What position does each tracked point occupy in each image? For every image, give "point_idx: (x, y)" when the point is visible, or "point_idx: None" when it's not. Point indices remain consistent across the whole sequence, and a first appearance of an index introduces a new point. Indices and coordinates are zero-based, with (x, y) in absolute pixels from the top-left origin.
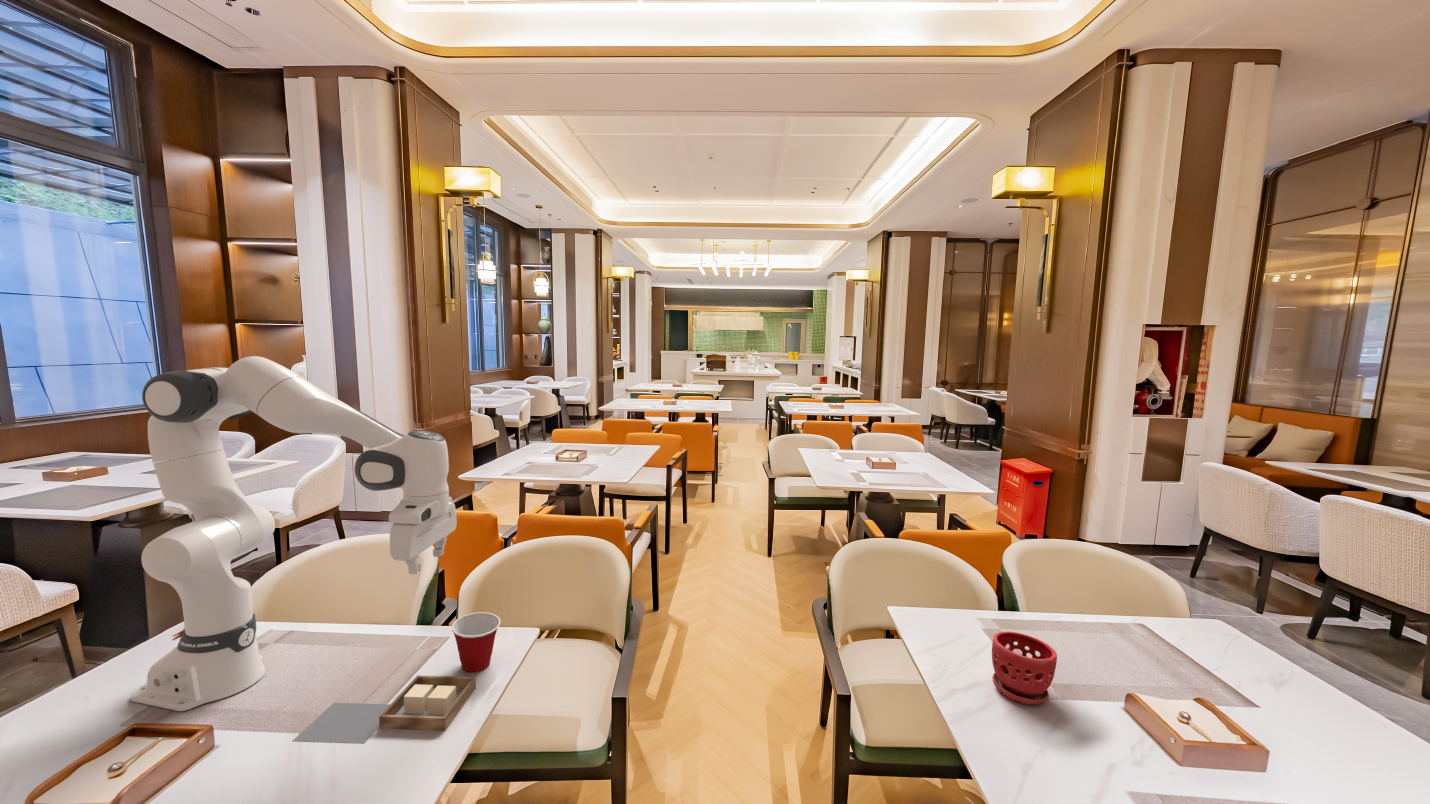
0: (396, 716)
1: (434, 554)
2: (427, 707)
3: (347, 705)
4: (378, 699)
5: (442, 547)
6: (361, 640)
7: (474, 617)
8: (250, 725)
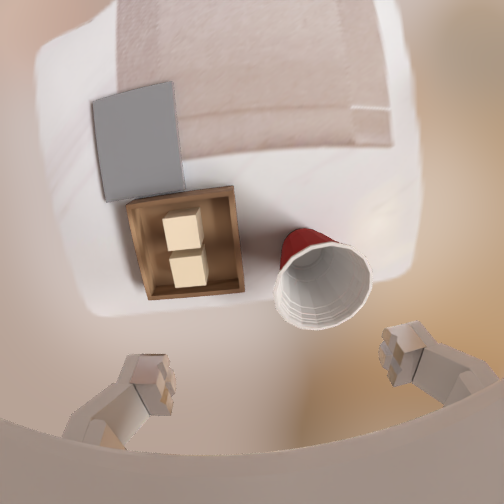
0: (132, 231)
1: (388, 340)
2: (172, 252)
3: (168, 107)
4: (201, 136)
5: (416, 384)
6: (354, 4)
7: (360, 262)
8: (126, 14)
